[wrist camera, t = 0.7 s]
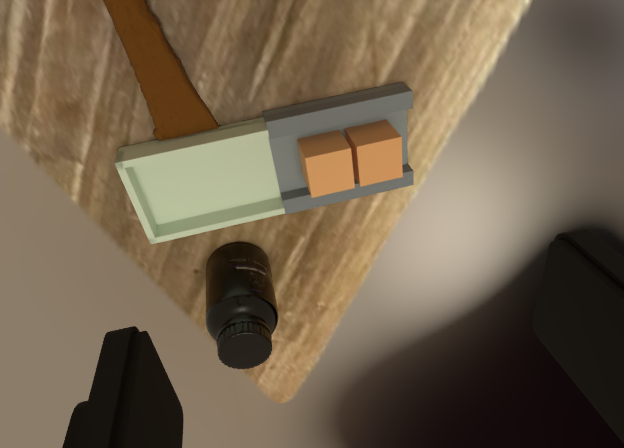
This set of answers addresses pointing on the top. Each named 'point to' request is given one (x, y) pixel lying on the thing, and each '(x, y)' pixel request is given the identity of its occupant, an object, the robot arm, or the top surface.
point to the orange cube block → (326, 163)
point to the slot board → (326, 118)
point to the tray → (201, 180)
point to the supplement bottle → (240, 305)
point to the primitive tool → (159, 73)
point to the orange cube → (375, 152)
